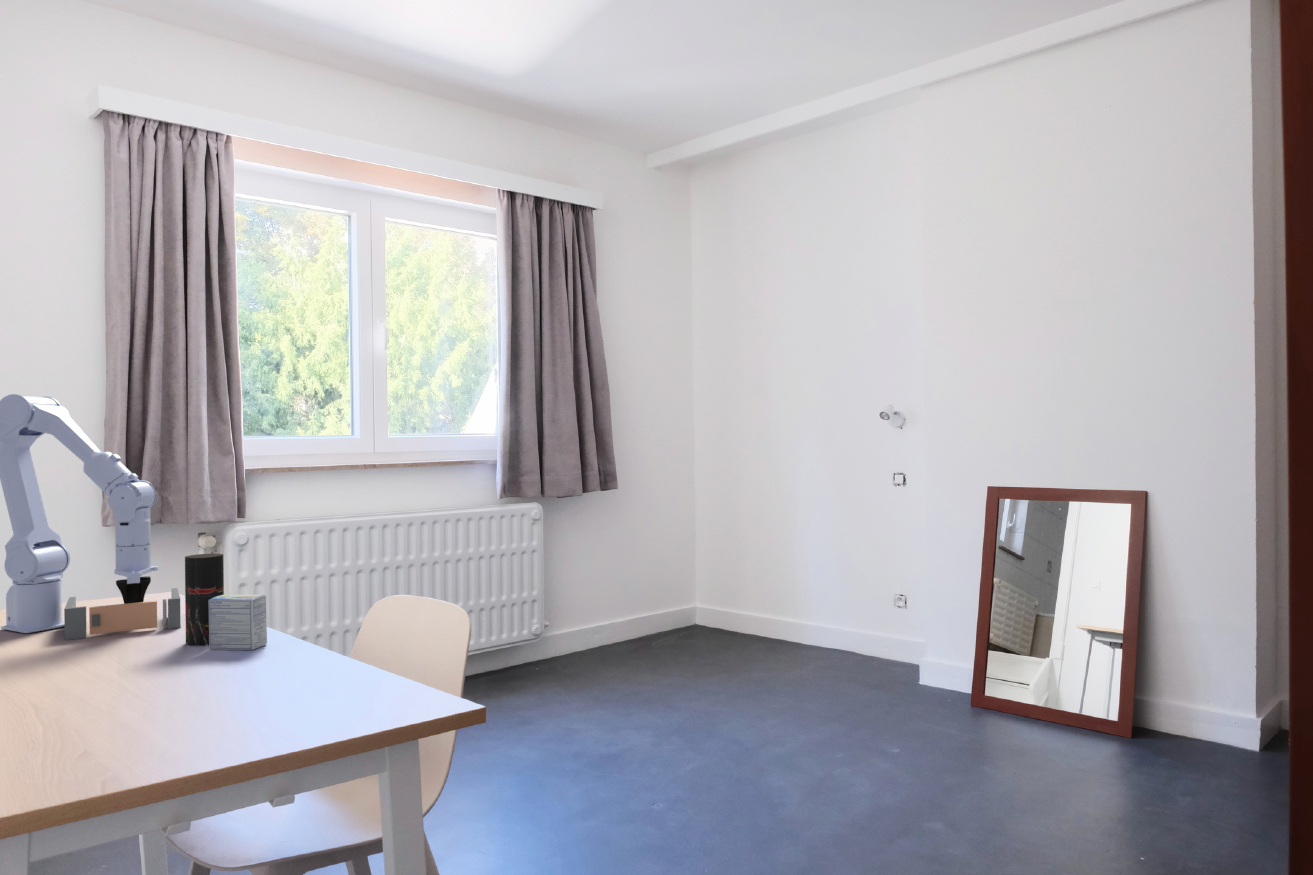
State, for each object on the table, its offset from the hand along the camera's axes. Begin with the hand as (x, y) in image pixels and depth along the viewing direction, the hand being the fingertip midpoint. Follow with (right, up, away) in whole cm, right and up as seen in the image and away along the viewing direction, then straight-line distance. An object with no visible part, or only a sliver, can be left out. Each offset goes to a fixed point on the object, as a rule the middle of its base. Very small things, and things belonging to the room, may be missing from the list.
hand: (133, 616), depth 163 cm
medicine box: (+28, -2, -18) cm, 33 cm away
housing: (-2, -2, 0) cm, 3 cm away
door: (+2, -1, -6) cm, 6 cm away
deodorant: (+20, -2, -13) cm, 25 cm away
